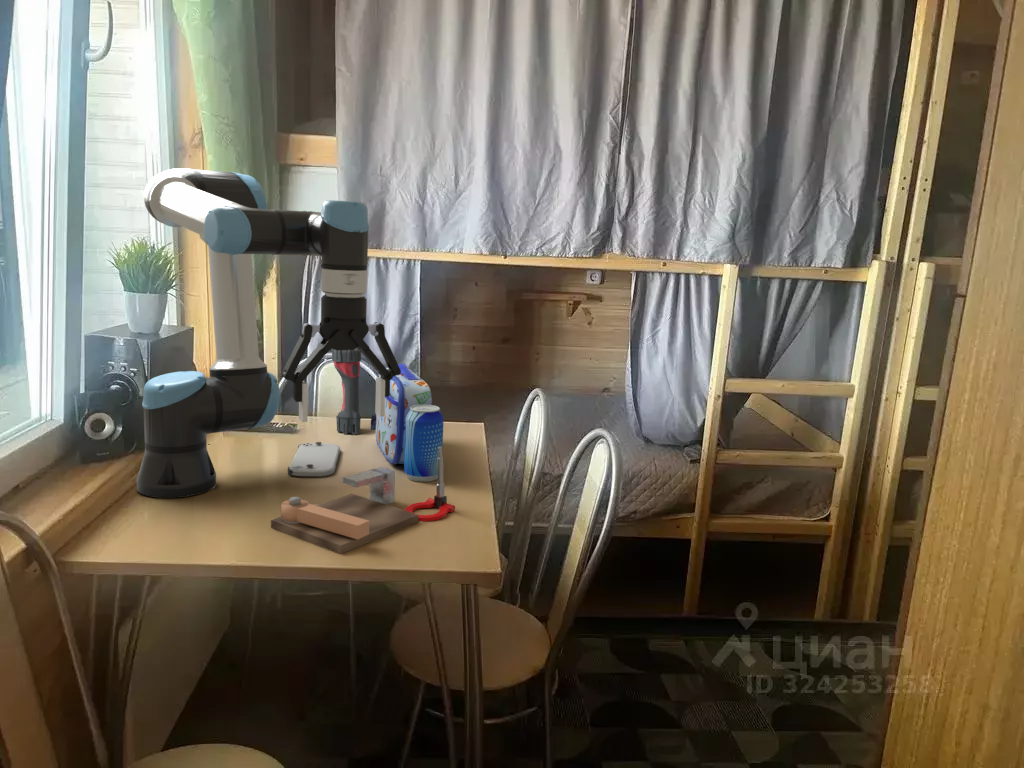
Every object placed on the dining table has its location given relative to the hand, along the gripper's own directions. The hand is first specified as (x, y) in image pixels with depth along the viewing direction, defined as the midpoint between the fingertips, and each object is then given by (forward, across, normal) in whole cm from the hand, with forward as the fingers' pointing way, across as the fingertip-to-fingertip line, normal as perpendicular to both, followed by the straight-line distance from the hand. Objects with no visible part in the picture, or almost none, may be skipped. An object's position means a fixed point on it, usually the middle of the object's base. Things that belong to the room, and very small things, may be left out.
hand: (342, 417), depth 137 cm
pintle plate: (+22, +3, +6) cm, 23 cm away
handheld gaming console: (+23, +8, +46) cm, 52 cm away
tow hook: (+22, +19, +6) cm, 30 cm away
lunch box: (+22, +29, +46) cm, 58 cm away
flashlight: (+22, +23, +72) cm, 79 cm away
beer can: (+22, +27, +28) cm, 45 cm away
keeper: (+22, +10, +14) cm, 28 cm away
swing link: (+20, -3, +2) cm, 20 cm away
